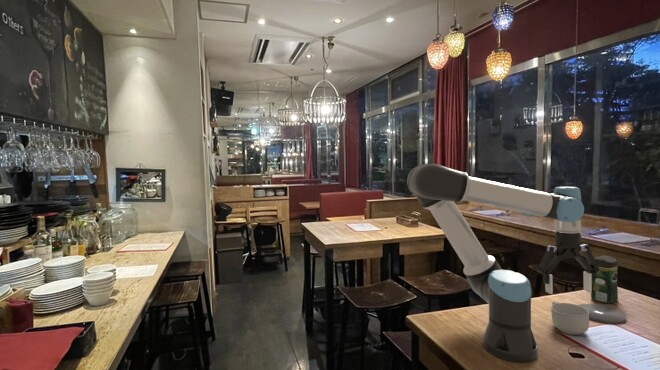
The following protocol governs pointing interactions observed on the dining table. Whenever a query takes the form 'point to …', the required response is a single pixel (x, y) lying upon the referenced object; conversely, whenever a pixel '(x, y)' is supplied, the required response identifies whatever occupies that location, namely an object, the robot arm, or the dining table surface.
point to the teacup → (570, 318)
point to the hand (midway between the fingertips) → (568, 291)
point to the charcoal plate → (604, 313)
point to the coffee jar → (605, 280)
